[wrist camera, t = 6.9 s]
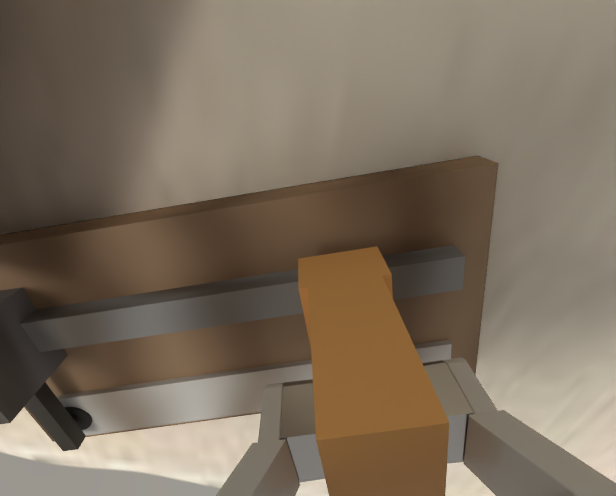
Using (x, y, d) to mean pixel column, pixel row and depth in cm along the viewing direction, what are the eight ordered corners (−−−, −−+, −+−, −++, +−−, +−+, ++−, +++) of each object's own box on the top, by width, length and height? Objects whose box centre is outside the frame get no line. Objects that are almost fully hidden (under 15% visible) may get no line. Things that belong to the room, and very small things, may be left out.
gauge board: (69, 417, 20) (3, 513, 15) (-62, 245, 14) (-224, 316, 10) (461, 363, 19) (513, 449, 14) (478, 155, 13) (569, 189, 9)
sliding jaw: (327, 403, 17) (349, 621, 10) (298, 251, 13) (299, 442, 6) (385, 395, 16) (447, 610, 10) (374, 239, 12) (466, 421, 6)
